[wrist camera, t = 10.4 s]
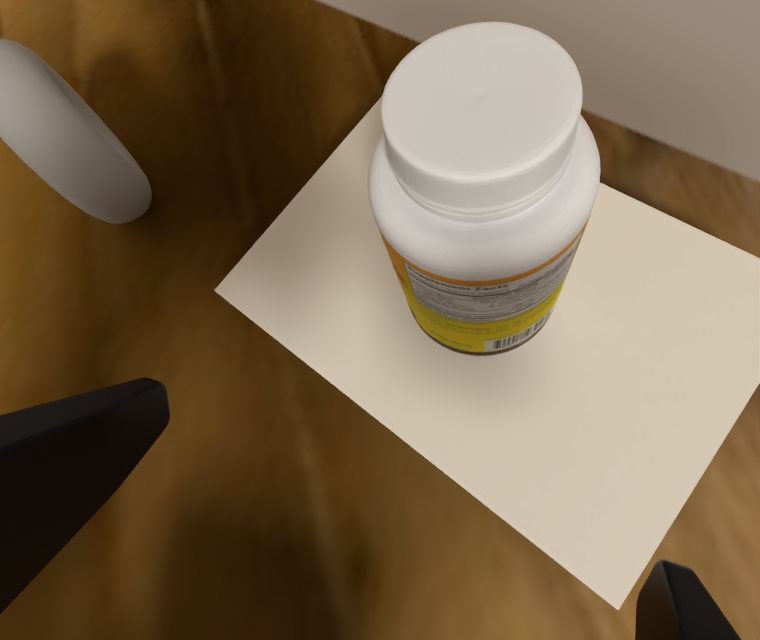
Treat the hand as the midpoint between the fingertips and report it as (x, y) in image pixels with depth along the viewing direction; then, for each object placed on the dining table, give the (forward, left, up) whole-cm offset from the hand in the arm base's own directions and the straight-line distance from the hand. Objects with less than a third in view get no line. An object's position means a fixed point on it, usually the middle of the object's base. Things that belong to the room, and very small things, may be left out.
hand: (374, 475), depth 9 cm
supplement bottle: (+3, +7, -9) cm, 12 cm away
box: (+3, +7, -14) cm, 16 cm away
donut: (-16, +19, -14) cm, 28 cm away
